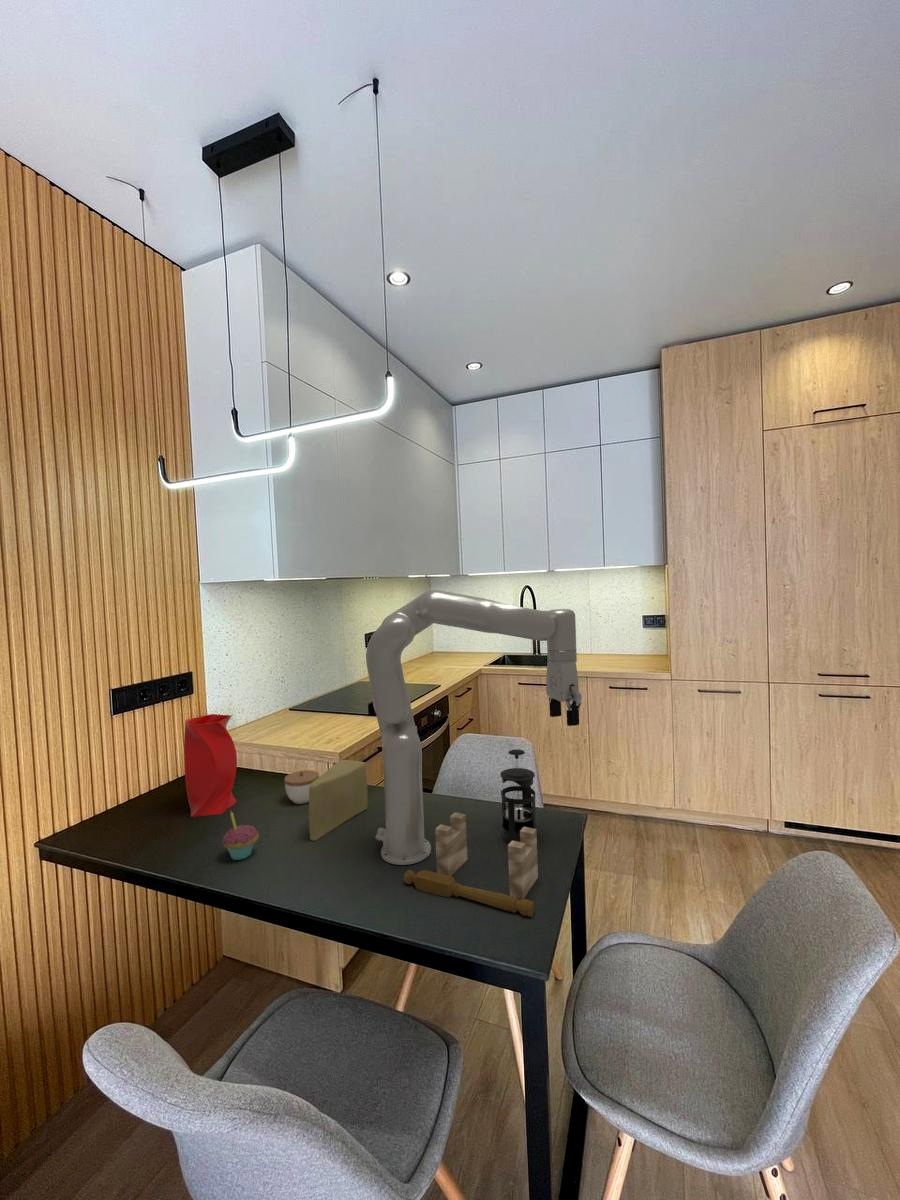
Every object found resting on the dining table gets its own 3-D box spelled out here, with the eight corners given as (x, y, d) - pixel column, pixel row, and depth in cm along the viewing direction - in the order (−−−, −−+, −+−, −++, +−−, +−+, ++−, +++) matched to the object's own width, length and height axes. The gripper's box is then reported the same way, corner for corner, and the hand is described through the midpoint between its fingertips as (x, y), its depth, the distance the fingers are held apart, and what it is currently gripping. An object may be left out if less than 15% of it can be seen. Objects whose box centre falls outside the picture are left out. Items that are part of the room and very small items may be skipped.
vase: (244, 804, 162) (240, 716, 161) (201, 822, 149) (197, 728, 149) (216, 795, 170) (212, 712, 169) (173, 812, 158) (169, 722, 157)
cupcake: (224, 867, 124) (221, 819, 124) (222, 852, 132) (219, 806, 131) (261, 857, 128) (259, 810, 128) (257, 843, 136) (255, 798, 135)
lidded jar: (314, 806, 158) (313, 776, 158) (280, 807, 158) (279, 777, 158) (323, 792, 168) (322, 764, 168) (291, 793, 169) (290, 765, 168)
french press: (527, 851, 126) (524, 759, 125) (494, 842, 131) (490, 754, 131) (545, 831, 136) (542, 746, 135) (514, 823, 141) (511, 741, 140)
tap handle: (530, 906, 100) (401, 872, 114) (530, 921, 100) (401, 886, 114) (534, 897, 103) (408, 865, 116) (535, 912, 103) (408, 878, 116)
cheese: (327, 844, 134) (324, 788, 133) (296, 839, 137) (294, 784, 137) (369, 809, 154) (367, 760, 154) (341, 805, 158) (339, 757, 158)
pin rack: (437, 875, 117) (435, 828, 116) (456, 856, 125) (454, 812, 125) (523, 900, 106) (521, 848, 106) (538, 877, 115) (536, 829, 114)
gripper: (535, 653, 141) (537, 714, 141) (564, 661, 124) (566, 730, 125) (559, 651, 143) (561, 712, 143) (591, 659, 126) (594, 727, 126)
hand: (564, 720), depth 134 cm, fingers open, 9 cm apart
